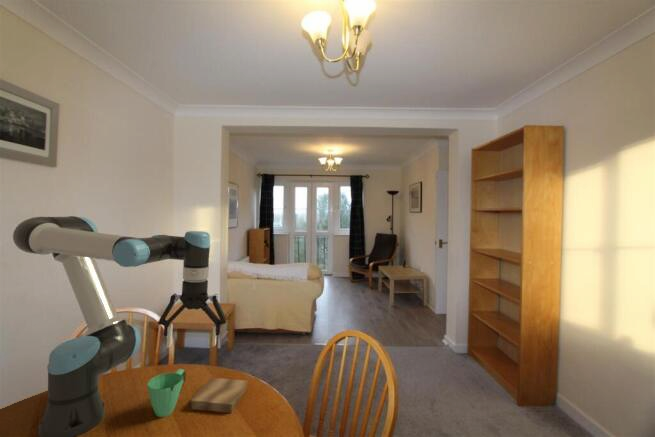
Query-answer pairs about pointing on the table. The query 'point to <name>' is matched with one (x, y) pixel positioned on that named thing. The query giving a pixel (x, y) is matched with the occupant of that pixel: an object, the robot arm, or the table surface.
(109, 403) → the table surface
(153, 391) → the mug
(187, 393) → the table surface
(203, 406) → the walnut board
